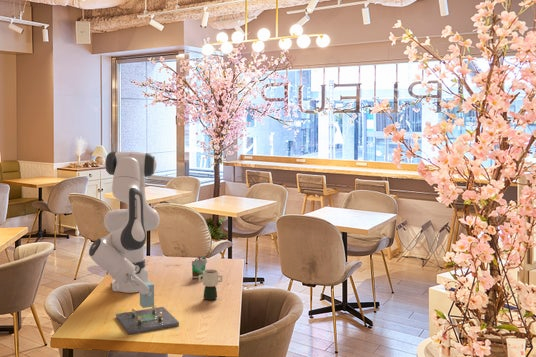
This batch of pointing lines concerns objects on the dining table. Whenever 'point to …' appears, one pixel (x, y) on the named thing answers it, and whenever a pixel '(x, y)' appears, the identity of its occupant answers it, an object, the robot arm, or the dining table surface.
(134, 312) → the plate
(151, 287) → the module block
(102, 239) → the robot arm
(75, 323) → the dining table surface
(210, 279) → the character mug
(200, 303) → the dining table surface
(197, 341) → the dining table surface
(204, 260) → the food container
